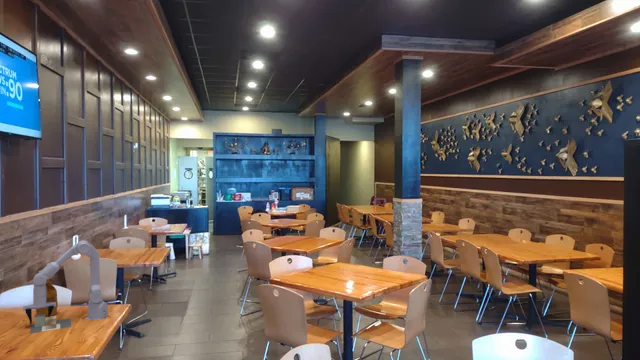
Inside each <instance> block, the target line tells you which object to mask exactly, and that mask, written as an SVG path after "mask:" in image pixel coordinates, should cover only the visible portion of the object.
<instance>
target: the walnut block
mask: <svg viewBox="0 0 640 360" xmlns="http://www.w3.org/2000/svg"><path fill="white" fill-rule="evenodd" d="M56 320H57V315H53V316H50V317H45V322H46V330H47V329H53V328H56Z"/></svg>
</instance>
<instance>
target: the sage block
mask: <svg viewBox="0 0 640 360" xmlns="http://www.w3.org/2000/svg"><path fill="white" fill-rule="evenodd" d="M45 322H46V317H45V314H41V315H34V324H35V327H41V326H45Z"/></svg>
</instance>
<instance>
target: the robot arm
mask: <svg viewBox="0 0 640 360" xmlns="http://www.w3.org/2000/svg"><path fill="white" fill-rule="evenodd" d="M79 254H80V255H85V256H86V257H88V258H89V272H90V273H89V274H90V275H89V277H90V279H89V281H90V285H89V291H88V297H89V300H88V302H87V303H88V305H87V310H88V311H87V313H88V314H87V316H86V317H84V319H85V320H102V319H105V318H107V317H108V316H109V305H108V303H107V302H105V301H104V300H103V294H102V290H101V285H100V283H101V280H100V279H101V278H100V277H101V276H100V253H99V251H98V250H97V249H96V248H95V247H94V245H93V244H92V243H91V242H89V241H87V240H85V239H82V240H79V241H78V242H77V243H75V244H73V245H72V246H71V247H70V248H69V249H68V250H66V252H64V253H63V255H61V256H60V257H59V258H58V259H57V260H55V261H51V262H50V263H49V262H48V263H47V264H46V266H45V267H44V268H42V270H39V271H38V273H36V274H35V275H33V281H32V282H33V294H32V296H33V297H32V298H33V299H32V300H33V302H32V303H33V304H28V305H23V306H22V311H23V312H25V314H26V316H27V318H28V320H29V324H30V325H31V324H33V318H32V317H33V316H32V315H33V314H32V310H36V309H38V308H45V307H48V317H51V316H50V315H51V313H52V311H53V309H54V307H56V302H49V303H46V281H47V279H49V278H50V279H51V278H52V277H53V276H54V275H55V274H56V273H57V272H59V270H60V268H61V266H62V265H63V264H64V263H66V262H67V261H68V260H69V259H70V258H72V257H74V256H78V255H79Z"/></svg>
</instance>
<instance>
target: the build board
mask: <svg viewBox="0 0 640 360" xmlns="http://www.w3.org/2000/svg"><path fill="white" fill-rule="evenodd" d="M71 327H72V319H71V318H65V319H64V318H63V319H56V328H53V329H47V330H46V321H45V326H41V327H35V323H32V324H30V330H29V334H31V335H32V334H36V333H43V332H49V331H55V330H62V329H66V328H67V329H68V328H71Z"/></svg>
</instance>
